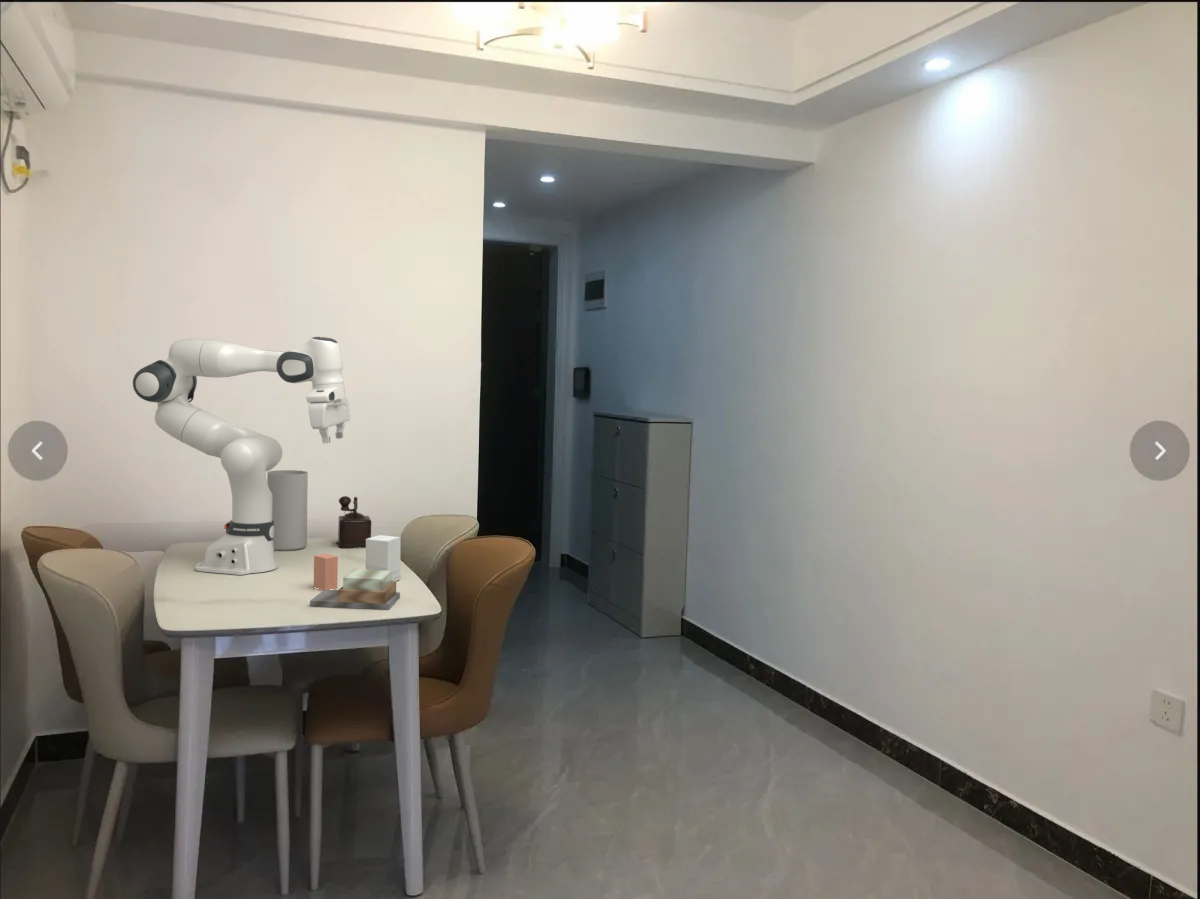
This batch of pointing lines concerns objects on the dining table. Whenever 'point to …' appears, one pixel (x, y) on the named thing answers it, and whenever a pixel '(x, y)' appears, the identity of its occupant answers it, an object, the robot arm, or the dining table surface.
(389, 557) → the supplement box
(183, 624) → the dining table surface
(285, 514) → the cylinder vase
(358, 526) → the manual coffee grinder
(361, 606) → the build plinth
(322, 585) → the block
